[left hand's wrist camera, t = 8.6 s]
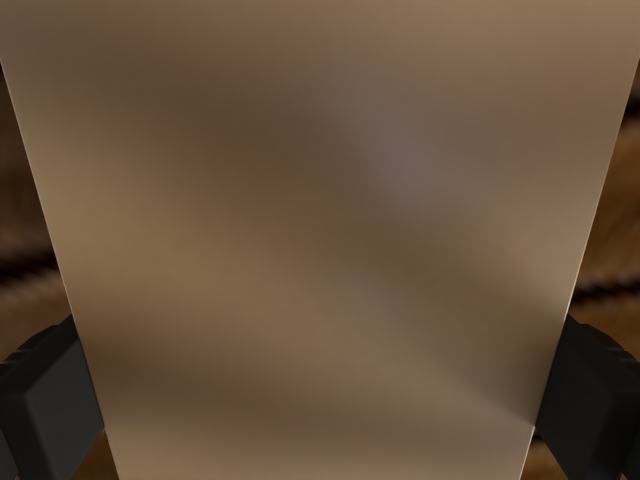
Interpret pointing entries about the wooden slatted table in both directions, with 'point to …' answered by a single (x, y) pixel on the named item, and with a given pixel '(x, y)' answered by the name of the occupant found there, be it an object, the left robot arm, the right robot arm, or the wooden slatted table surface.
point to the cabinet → (319, 220)
